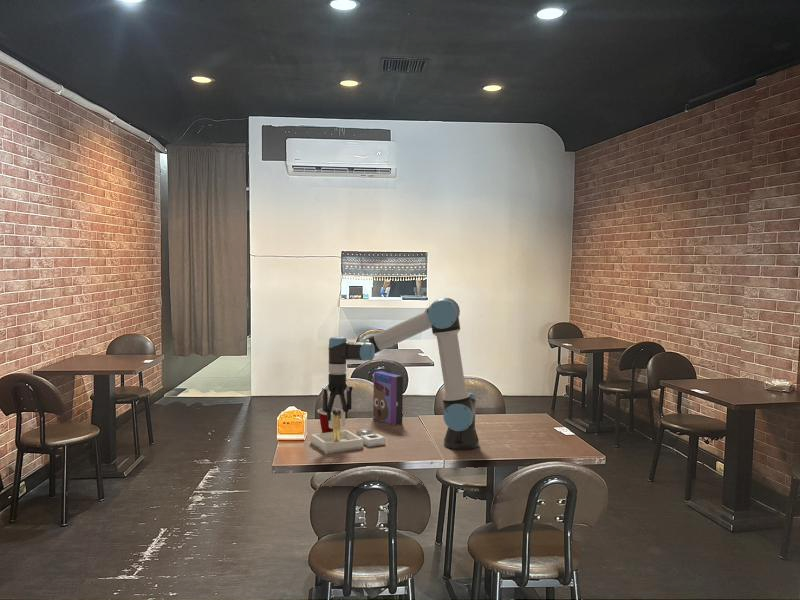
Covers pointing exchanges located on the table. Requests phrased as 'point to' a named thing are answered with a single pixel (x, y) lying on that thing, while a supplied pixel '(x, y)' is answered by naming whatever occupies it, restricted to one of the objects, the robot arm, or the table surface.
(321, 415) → the plastic cup
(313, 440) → the tray
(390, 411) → the cereal box
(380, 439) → the bracket
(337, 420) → the lock pin
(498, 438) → the table surface
